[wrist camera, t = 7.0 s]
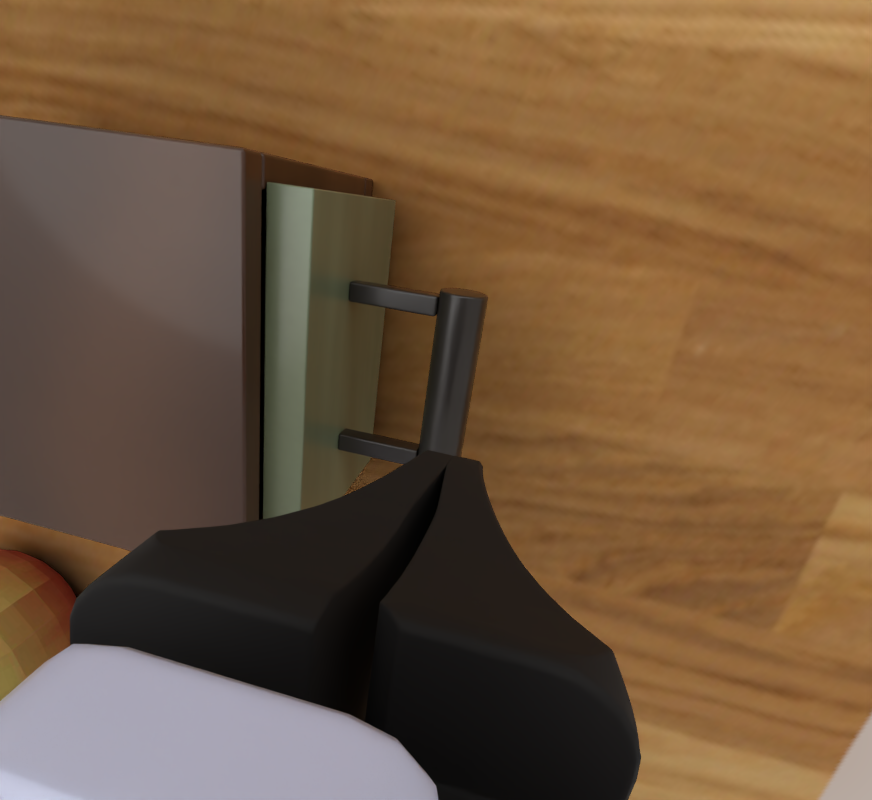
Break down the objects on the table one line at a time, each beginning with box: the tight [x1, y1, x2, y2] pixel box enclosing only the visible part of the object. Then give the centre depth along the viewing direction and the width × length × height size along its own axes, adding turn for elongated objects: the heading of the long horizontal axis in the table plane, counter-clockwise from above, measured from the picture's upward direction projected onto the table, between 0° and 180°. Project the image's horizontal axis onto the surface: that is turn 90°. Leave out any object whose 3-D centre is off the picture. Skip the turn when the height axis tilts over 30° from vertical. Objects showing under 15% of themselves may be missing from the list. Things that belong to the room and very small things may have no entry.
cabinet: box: [0, 115, 373, 551], centre depth 18 cm, size 14×12×9 cm
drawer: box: [259, 182, 488, 519], centre depth 17 cm, size 17×10×7 cm, turn 82°
